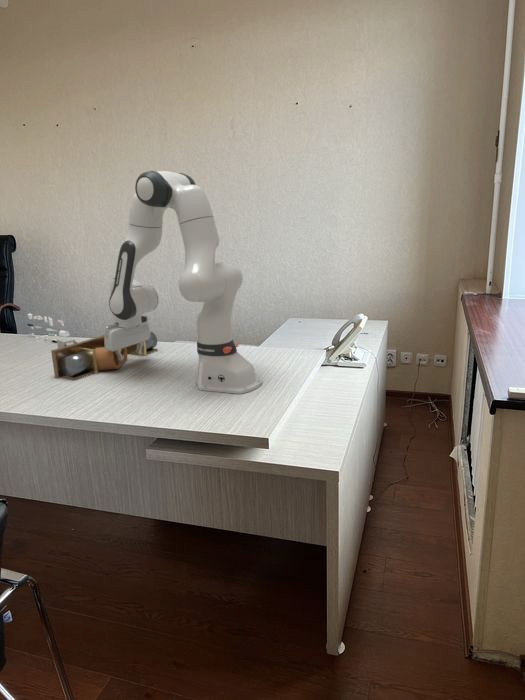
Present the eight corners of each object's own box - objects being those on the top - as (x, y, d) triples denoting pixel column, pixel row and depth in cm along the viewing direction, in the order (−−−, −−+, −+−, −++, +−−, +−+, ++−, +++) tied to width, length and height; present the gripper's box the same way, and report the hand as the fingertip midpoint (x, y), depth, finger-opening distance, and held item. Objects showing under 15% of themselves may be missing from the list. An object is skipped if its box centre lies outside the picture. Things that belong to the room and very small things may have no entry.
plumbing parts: (34, 336, 250) (31, 310, 247) (78, 345, 230) (74, 318, 226) (21, 338, 246) (17, 313, 242) (65, 349, 225) (61, 321, 222)
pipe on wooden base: (161, 350, 217) (159, 327, 215) (75, 382, 181) (71, 353, 178) (142, 348, 222) (140, 324, 220) (55, 377, 186) (51, 350, 184)
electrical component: (94, 358, 209) (93, 346, 208) (79, 361, 206) (78, 349, 204) (69, 347, 227) (68, 336, 225) (55, 350, 223) (54, 339, 221)
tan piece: (111, 349, 187) (92, 350, 188) (115, 371, 189) (96, 373, 190) (125, 338, 205) (107, 339, 205) (128, 358, 207) (111, 360, 207)
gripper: (111, 327, 182) (115, 365, 186) (151, 315, 199) (154, 351, 203) (98, 325, 185) (102, 363, 189) (138, 314, 202) (142, 349, 206)
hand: (129, 357), depth 196 cm, fingers open, 8 cm apart
